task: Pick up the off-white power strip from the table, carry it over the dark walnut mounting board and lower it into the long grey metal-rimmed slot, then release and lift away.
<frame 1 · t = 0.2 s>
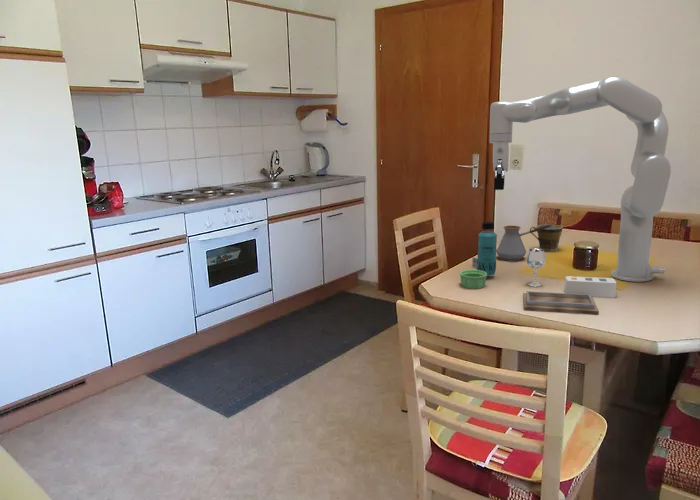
hand: (499, 187, 184), 31 cm above the table, tool pointing down, fingers open, 9 cm apart
ceramic cup: (544, 250, 220), on the table
wineglass: (534, 285, 175), on the table
power strip: (589, 294, 164), on the table
ramekin: (473, 286, 177), on the table
mounting board: (558, 304, 156), on the table
coffee pot: (523, 260, 205), on the table
usb wall charger: (482, 267, 199), on the table
beverage bottle: (486, 277, 185), on the table
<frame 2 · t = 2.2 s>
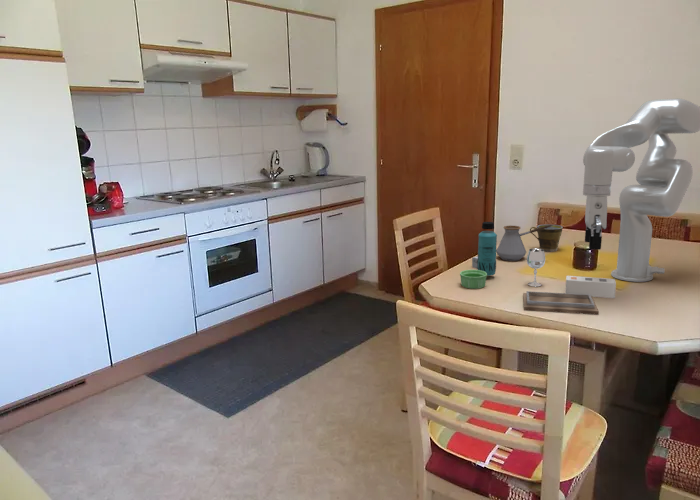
hand: (592, 245, 160), 16 cm above the table, tool pointing down, fingers open, 9 cm apart
nothing on the table moved.
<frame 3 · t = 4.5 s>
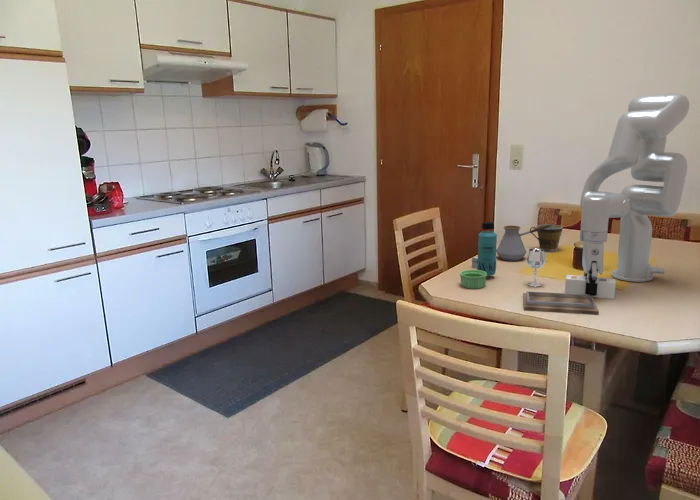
hand: (589, 291, 163), 1 cm above the table, tool pointing down, fingers closed on power strip, 5 cm apart
power strip: (589, 294, 164), on the table, touching gripper
everything else where it was.
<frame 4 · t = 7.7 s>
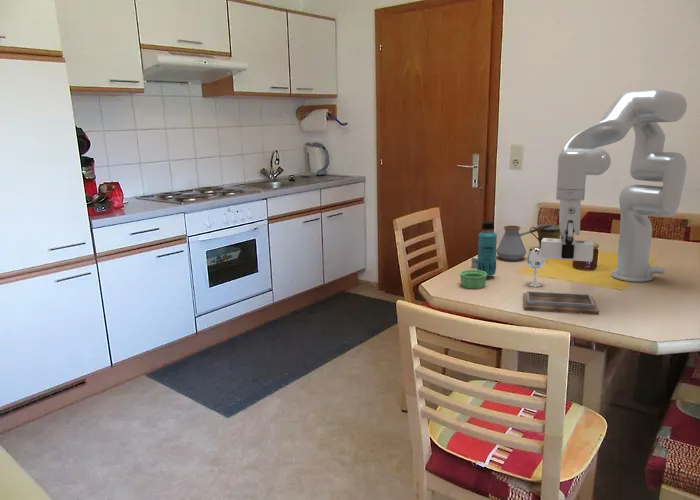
hand: (566, 254, 153), 15 cm above the table, tool pointing down, fingers closed on power strip, 5 cm apart
power strip: (566, 257, 153), point 14 cm above the table, touching gripper
everything else where it was.
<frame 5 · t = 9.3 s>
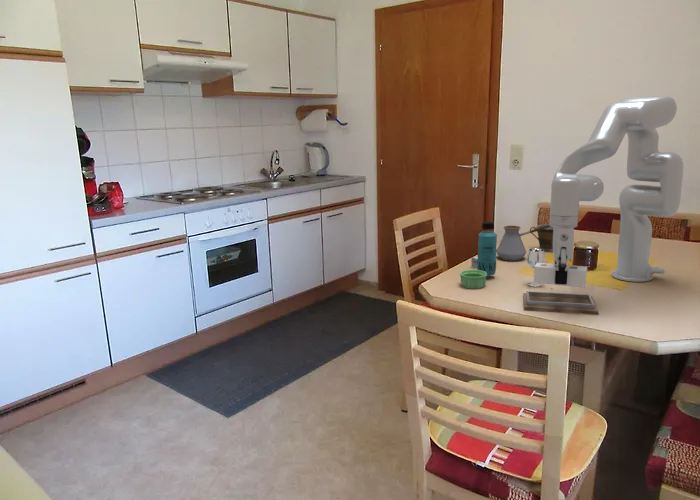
hand: (559, 280, 154), 8 cm above the table, tool pointing down, fingers closed on power strip, 5 cm apart
power strip: (559, 282, 154), point 7 cm above the table, touching gripper
everything else where it was.
when the fingers open (4 cm above the table, at t = 10.9 s): power strip drops 2 cm, resting on mounting board.
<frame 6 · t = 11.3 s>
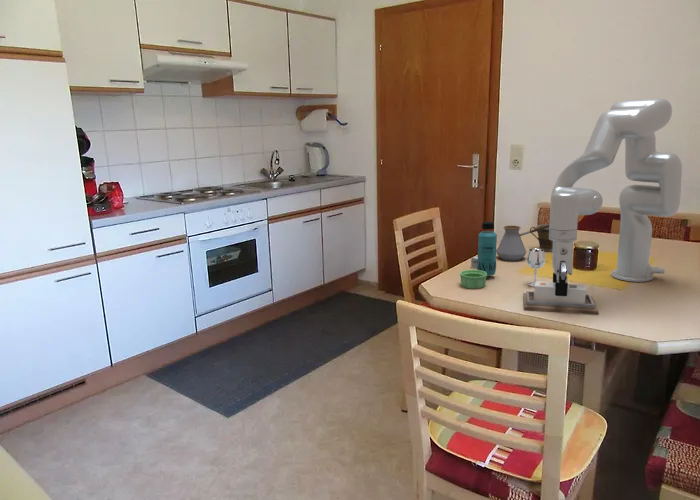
hand: (559, 290, 154), 4 cm above the table, tool pointing down, fingers open, 9 cm apart
power strip: (559, 301, 155), point 1 cm above the table, touching mounting board
everything else where it was.
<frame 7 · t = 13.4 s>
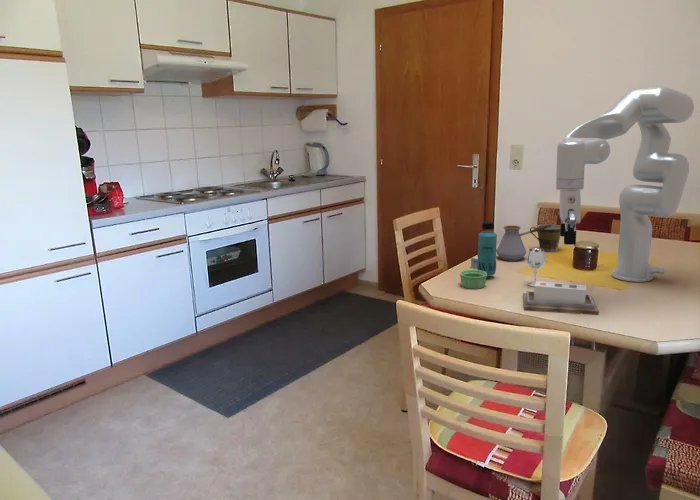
hand: (567, 240, 157), 18 cm above the table, tool pointing down, fingers open, 9 cm apart
nothing on the table moved.
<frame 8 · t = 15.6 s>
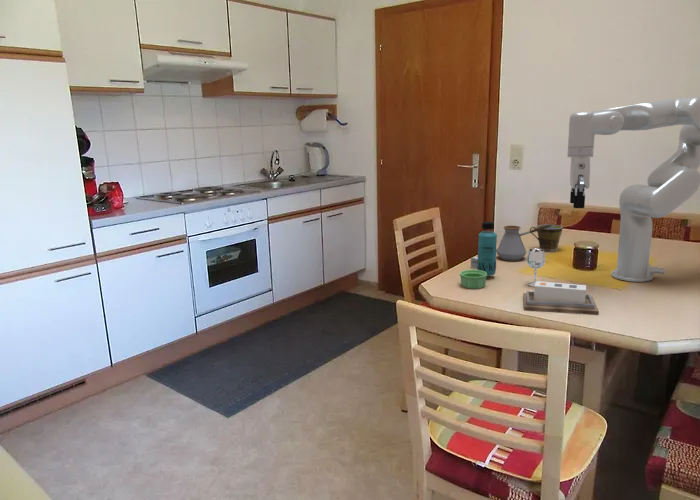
hand: (576, 205, 169), 26 cm above the table, tool pointing down, fingers open, 9 cm apart
nothing on the table moved.
at the end: power strip 0.1 cm off-centre on the mounting board, point 1.0 cm above the mounting board's base; the gripper is holding nothing; power strip tilted 0° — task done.
